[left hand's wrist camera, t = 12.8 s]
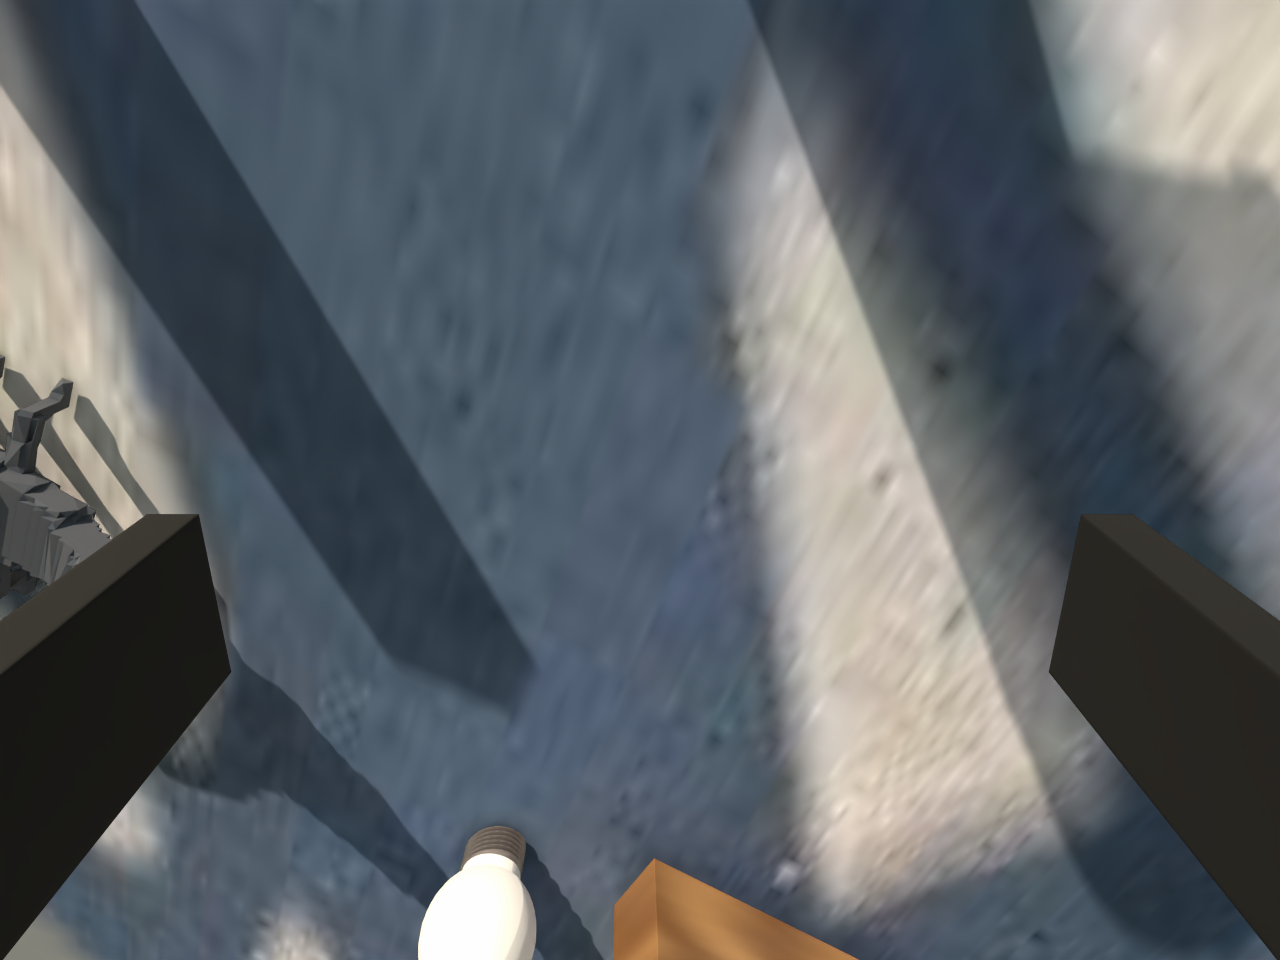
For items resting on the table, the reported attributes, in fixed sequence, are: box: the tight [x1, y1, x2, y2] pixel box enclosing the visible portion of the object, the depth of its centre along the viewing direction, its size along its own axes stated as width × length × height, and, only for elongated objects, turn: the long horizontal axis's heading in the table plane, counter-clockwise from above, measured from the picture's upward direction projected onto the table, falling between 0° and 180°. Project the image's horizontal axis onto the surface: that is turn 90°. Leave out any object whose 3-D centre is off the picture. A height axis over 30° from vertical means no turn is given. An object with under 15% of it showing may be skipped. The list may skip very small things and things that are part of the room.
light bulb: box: [418, 826, 536, 960], centre depth 50 cm, size 7×7×11 cm
